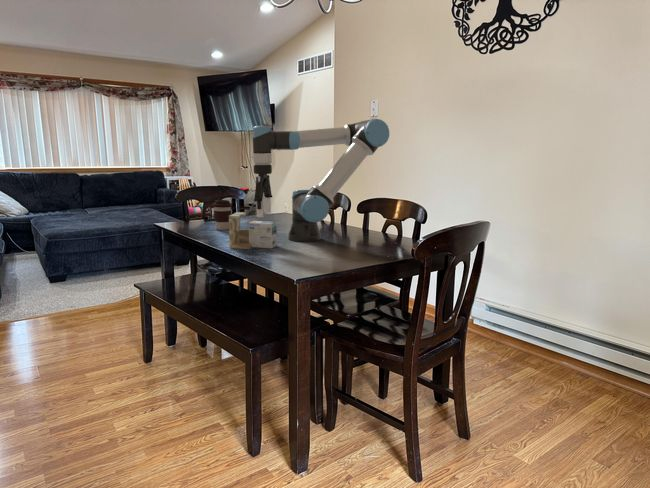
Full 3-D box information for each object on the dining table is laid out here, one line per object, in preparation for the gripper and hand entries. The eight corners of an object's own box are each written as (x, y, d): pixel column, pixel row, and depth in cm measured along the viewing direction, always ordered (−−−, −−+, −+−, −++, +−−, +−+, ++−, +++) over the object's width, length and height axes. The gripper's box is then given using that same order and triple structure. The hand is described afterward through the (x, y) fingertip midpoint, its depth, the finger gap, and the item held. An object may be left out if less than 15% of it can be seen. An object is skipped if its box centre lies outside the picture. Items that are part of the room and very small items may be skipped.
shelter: (237, 242, 203) (237, 212, 201) (257, 243, 202) (257, 212, 200) (229, 247, 192) (228, 215, 189) (250, 248, 191) (250, 216, 188)
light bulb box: (277, 245, 198) (277, 221, 196) (272, 248, 192) (272, 223, 190) (254, 244, 200) (253, 220, 198) (248, 247, 194) (248, 222, 192)
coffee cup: (209, 228, 238) (208, 200, 235) (226, 226, 245) (225, 199, 242) (219, 231, 231) (218, 201, 228) (236, 229, 237) (235, 200, 234)
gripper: (260, 163, 202) (262, 210, 206) (245, 165, 177) (247, 218, 182) (277, 163, 201) (278, 211, 205) (264, 165, 177) (265, 219, 181)
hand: (263, 214), depth 194 cm, fingers open, 13 cm apart
